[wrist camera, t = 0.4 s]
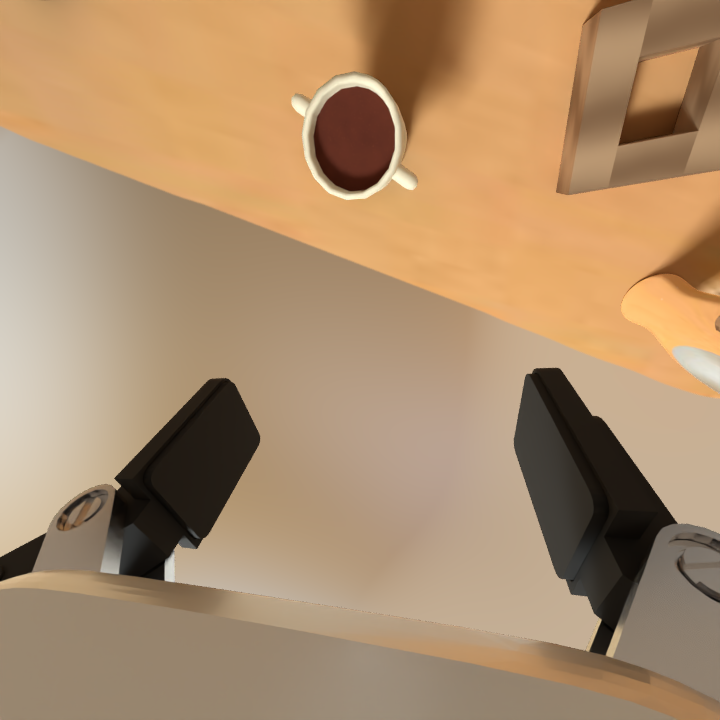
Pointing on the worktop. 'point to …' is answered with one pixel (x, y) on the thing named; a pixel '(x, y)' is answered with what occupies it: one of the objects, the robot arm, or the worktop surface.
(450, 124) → the worktop surface
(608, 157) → the square ring frame
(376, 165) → the character mug
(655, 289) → the beer glass
